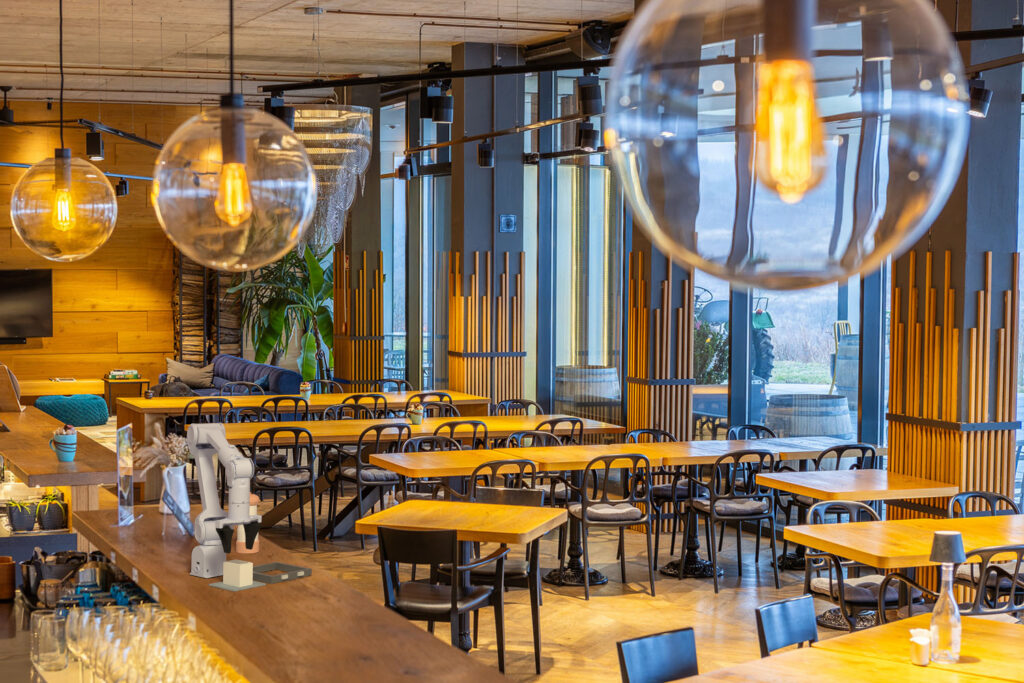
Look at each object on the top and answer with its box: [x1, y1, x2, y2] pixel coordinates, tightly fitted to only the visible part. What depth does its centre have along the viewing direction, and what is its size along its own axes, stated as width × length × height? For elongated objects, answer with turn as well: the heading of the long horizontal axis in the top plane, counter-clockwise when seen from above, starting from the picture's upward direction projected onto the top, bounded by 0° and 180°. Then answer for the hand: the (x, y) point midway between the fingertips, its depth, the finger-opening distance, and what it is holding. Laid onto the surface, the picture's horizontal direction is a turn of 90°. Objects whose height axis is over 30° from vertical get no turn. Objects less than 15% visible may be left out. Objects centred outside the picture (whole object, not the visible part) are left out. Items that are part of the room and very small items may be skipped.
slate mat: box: [208, 580, 267, 592], centre depth 316 cm, size 11×11×1 cm
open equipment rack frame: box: [253, 561, 312, 585], centre depth 329 cm, size 15×16×2 cm
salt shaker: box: [235, 491, 260, 554], centre depth 365 cm, size 7×7×19 cm
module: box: [222, 559, 254, 587], centre depth 316 cm, size 4×7×6 cm, turn 53°
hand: (238, 551), depth 317 cm, fingers open, 7 cm apart
